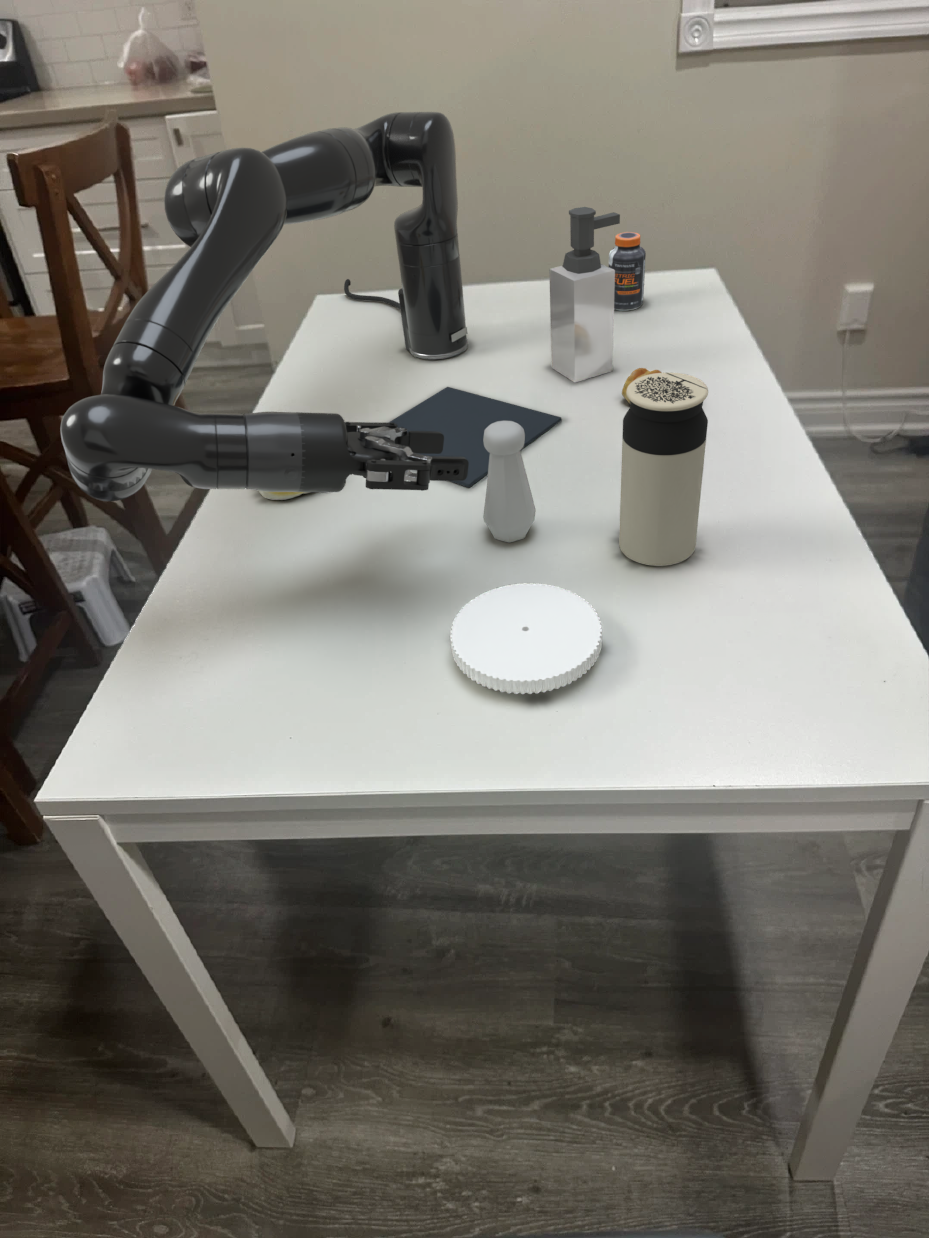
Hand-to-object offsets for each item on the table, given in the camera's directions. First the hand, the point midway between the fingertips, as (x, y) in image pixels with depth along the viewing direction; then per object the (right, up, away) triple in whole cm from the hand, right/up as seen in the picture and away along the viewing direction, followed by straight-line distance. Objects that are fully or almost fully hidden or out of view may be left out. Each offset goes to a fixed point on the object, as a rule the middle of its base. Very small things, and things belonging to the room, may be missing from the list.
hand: (454, 455), depth 88 cm
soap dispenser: (+20, +21, +41) cm, 50 cm away
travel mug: (+22, -9, +5) cm, 24 cm away
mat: (0, +8, +28) cm, 29 cm away
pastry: (+27, +13, +30) cm, 43 cm away
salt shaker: (+6, -7, +9) cm, 13 cm away
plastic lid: (+7, -20, -6) cm, 22 cm away
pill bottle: (+28, +36, +58) cm, 74 cm away
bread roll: (-21, 0, +22) cm, 30 cm away
